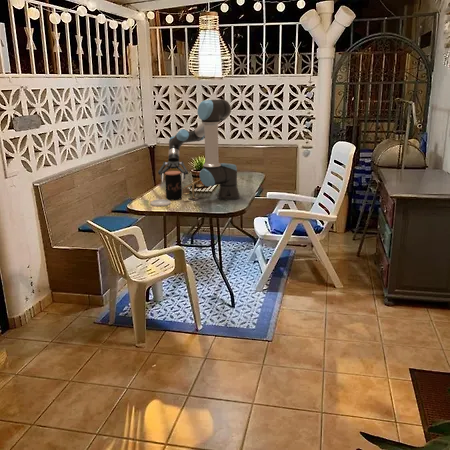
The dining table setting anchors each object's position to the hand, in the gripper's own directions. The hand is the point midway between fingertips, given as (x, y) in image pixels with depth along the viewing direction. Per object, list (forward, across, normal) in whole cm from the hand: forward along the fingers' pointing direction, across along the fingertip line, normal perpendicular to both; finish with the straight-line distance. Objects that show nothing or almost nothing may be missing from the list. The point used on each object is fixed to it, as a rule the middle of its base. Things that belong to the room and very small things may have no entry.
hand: (172, 182), depth 321 cm
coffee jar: (+9, -1, -7) cm, 11 cm away
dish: (+18, +7, +3) cm, 20 cm away
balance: (+11, -14, -4) cm, 18 cm away
